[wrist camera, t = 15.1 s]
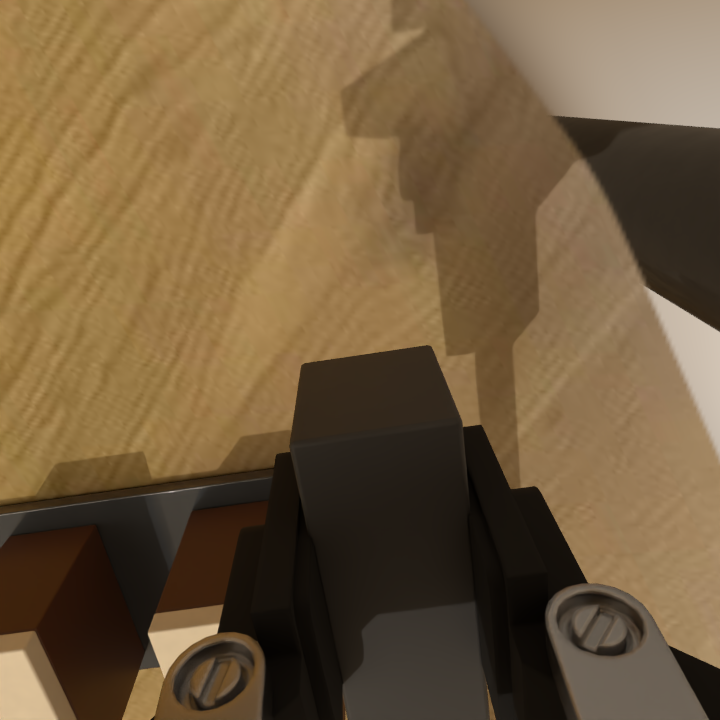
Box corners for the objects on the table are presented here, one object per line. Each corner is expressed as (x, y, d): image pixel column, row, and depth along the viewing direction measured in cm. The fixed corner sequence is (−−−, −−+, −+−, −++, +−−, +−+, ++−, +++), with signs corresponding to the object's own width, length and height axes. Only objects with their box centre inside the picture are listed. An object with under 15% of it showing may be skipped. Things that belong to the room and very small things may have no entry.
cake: (317, 492, 24) (311, 611, 18) (344, 626, 27) (346, 764, 21) (190, 510, 24) (146, 633, 18) (230, 641, 27) (202, 782, 21)
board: (338, 459, 24) (339, 467, 23) (370, 629, 27) (370, 640, 27) (-36, 510, 24) (-44, 520, 24) (42, 672, 28) (36, 683, 27)
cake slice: (95, 523, 24) (23, 650, 18) (145, 652, 27) (95, 796, 21) (9, 535, 24) (-90, 665, 19) (67, 663, 27) (-3, 809, 21)
